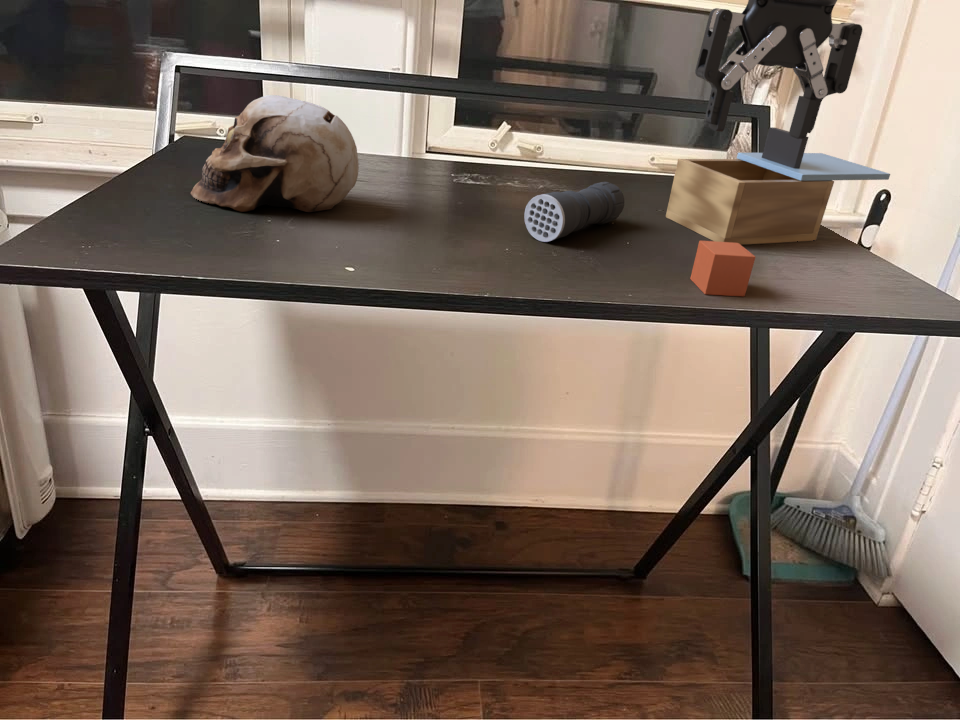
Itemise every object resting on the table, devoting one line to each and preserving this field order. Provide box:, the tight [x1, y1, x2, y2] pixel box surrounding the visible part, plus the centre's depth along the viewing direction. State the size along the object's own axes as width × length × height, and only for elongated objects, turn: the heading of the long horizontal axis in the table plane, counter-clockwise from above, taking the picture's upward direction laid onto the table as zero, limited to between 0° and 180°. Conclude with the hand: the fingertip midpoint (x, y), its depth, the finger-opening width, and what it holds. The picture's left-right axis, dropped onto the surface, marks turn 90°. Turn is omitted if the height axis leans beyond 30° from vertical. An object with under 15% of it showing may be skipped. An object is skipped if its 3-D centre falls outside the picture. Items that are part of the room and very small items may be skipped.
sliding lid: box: [736, 126, 891, 181], centre depth 101 cm, size 12×16×5 cm
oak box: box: [665, 158, 835, 246], centre depth 99 cm, size 12×16×8 cm
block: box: [689, 240, 756, 297], centre depth 78 cm, size 4×4×4 cm
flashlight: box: [523, 181, 625, 243], centre depth 92 cm, size 15×5×5 cm, turn 140°
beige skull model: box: [190, 94, 360, 213], centre depth 89 cm, size 16×17×13 cm
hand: (756, 133), depth 72 cm, fingers open, 8 cm apart
